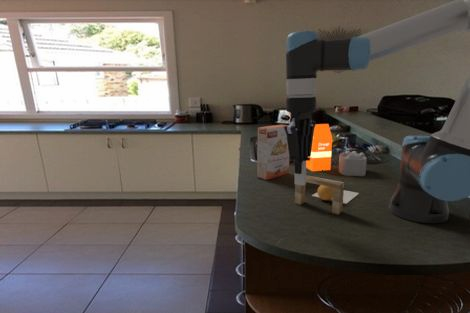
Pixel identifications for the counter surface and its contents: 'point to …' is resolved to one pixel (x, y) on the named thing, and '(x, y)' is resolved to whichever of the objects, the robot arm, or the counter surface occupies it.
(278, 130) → the cracker box
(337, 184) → the bridge
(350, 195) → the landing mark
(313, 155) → the orange juice
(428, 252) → the counter surface
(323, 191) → the ball
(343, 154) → the grey toy brick
